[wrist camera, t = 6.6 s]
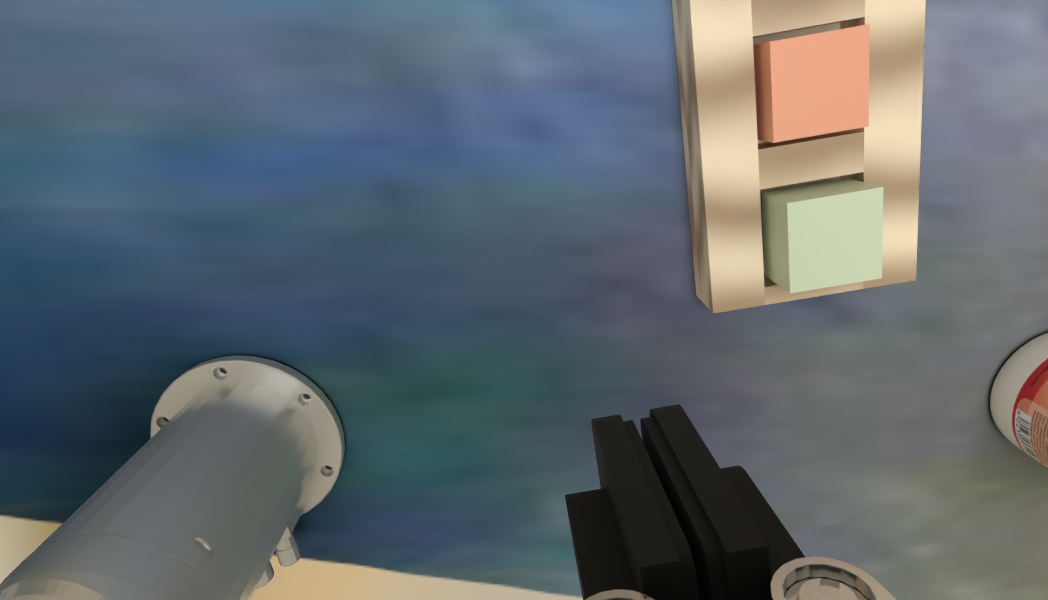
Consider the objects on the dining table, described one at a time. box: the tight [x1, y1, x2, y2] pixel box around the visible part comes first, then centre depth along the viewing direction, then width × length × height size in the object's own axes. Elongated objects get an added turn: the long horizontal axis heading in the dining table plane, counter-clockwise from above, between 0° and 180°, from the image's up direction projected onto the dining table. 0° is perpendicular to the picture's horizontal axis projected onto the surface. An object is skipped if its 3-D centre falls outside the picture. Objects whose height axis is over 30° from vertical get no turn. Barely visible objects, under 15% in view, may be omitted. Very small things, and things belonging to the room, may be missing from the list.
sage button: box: [761, 178, 883, 293], centre depth 35 cm, size 5×5×4 cm
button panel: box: [672, 0, 926, 313], centre depth 35 cm, size 24×12×4 cm, turn 9°
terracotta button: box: [753, 24, 870, 143], centre depth 34 cm, size 5×5×4 cm
